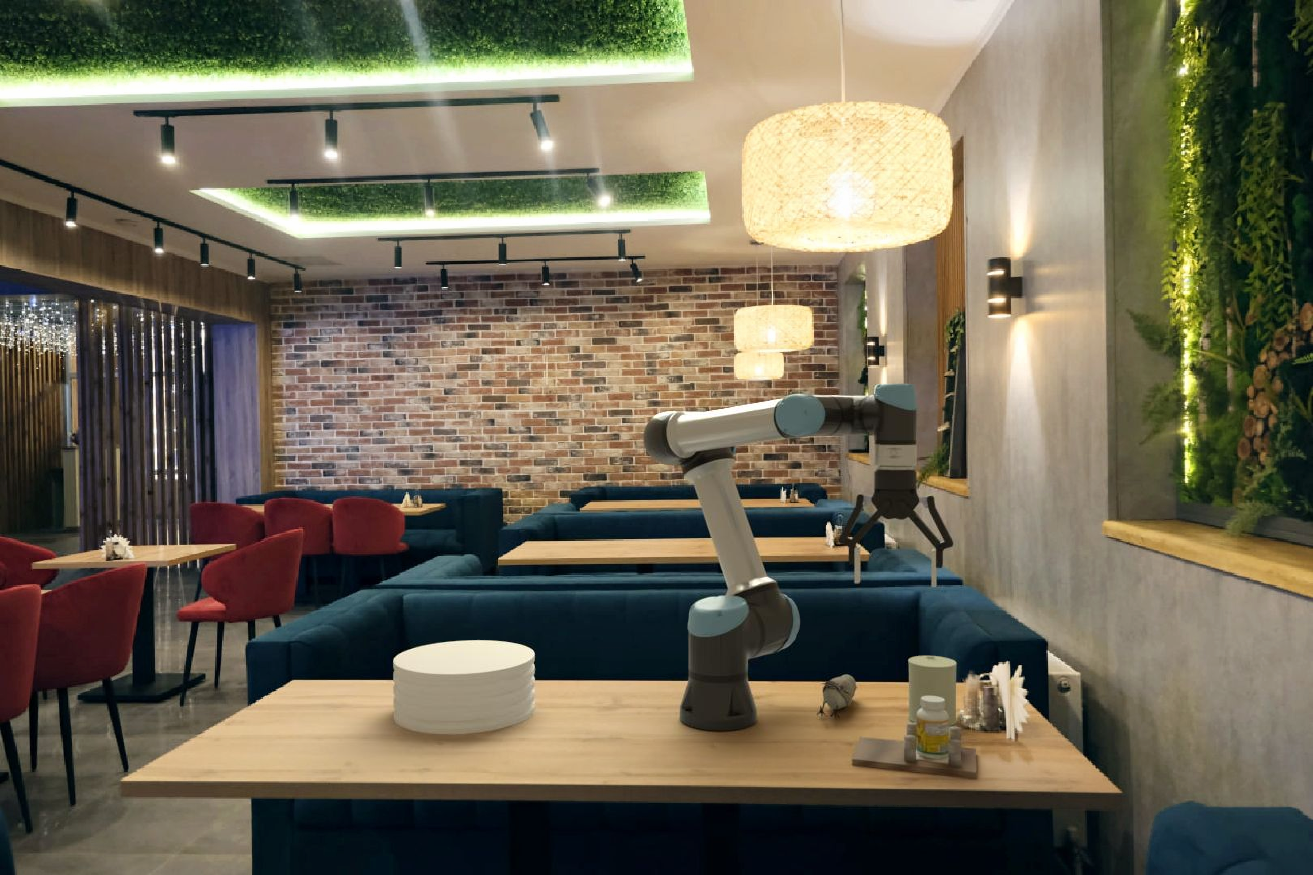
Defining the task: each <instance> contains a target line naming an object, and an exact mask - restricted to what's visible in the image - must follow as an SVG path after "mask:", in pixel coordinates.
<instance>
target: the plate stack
mask: <svg viewBox="0 0 1313 875" xmlns="http://www.w3.org/2000/svg"><path fill="white" fill-rule="evenodd" d="M535 655H536V654H535V651H534V650H533V649H532V648H530V647H528V646H526V645H523V644H519V643H514V642H508V641H504V640H503V641H501V640H500V641H499V640H485V639H484V640H480V639H477V640H473V639H472V640H455V641H445V642H435V643H431V644H430V643H429V644H425V645H420V646H416V647H414V648H411V649H407V650H404V651H402V652H401V653H398V654H397V655H396V656H395V657H394V658H393V662H392V663H393V664H392V665H393V670H394V671H393V674H392V675H393V676H392V677H393V683H394V684H393V692H392V693H393V695H394V697H393V700H392V701H393V703H392V704H393V705H392V706H393V708H394V709H393V720H394V722H395V724H397V725H398V726H400V727H402V728H404V729H407V730H410V731H413V732H414V731H415V732H419V733H424V734H435V735H436V734H437V735H466V734H475V733H483V732H484V733H485V732H490V731H496V730H500V729H503V728H504V729H505V728H509V727H512V726H513V725H516V724H520V723H521V722H523V721H526V720H528V719H529V718H530V717H531V716H532V715H533V714H534V713H535V710H536V703H535V698H536V691H535V686H536V684H535V683H536V682H535V681H536V678H535V676H534V675H535V673H536V672H535V671H536V668H535V664H534V662H535V658H536V656H535Z"/></svg>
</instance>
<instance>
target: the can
mask: <svg viewBox="0 0 1313 875" xmlns="http://www.w3.org/2000/svg"><path fill="white" fill-rule="evenodd" d="M907 661H908V715H907V718H908V720H909V721H910V722H914V723H917V712H918V710H919V709H921V708H922V707H921V697H922V696H938V697H941V698H944V699H945V708H944V709H943V710H945V711H946V712H947V713H948V715H949V727H951V726H955V725H956V724H957V722H958V720H957V706H956V705H957V662H956V661H955V660H954V659H951V658H949V657H943V656H938V655H937V656H936V655H918V656H917V655H916V656H912V657H910V658H908V660H907Z"/></svg>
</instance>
